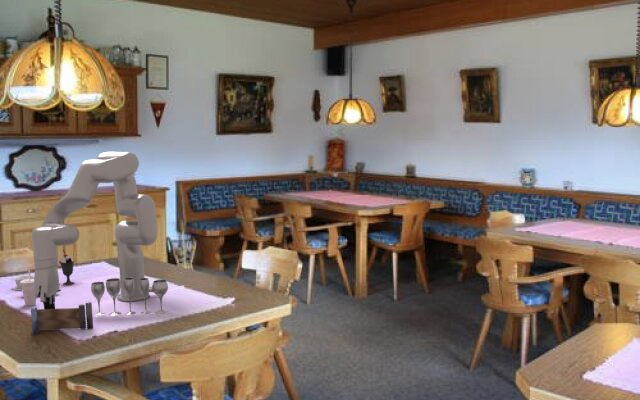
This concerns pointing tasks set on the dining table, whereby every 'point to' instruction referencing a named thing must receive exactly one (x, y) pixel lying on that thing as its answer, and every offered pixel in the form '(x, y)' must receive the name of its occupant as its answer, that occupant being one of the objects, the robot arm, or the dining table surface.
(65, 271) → the sundae
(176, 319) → the dining table surface
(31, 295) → the smoothie
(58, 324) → the gate
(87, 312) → the grey upright cylinders
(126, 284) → the goblet set
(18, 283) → the teacup
